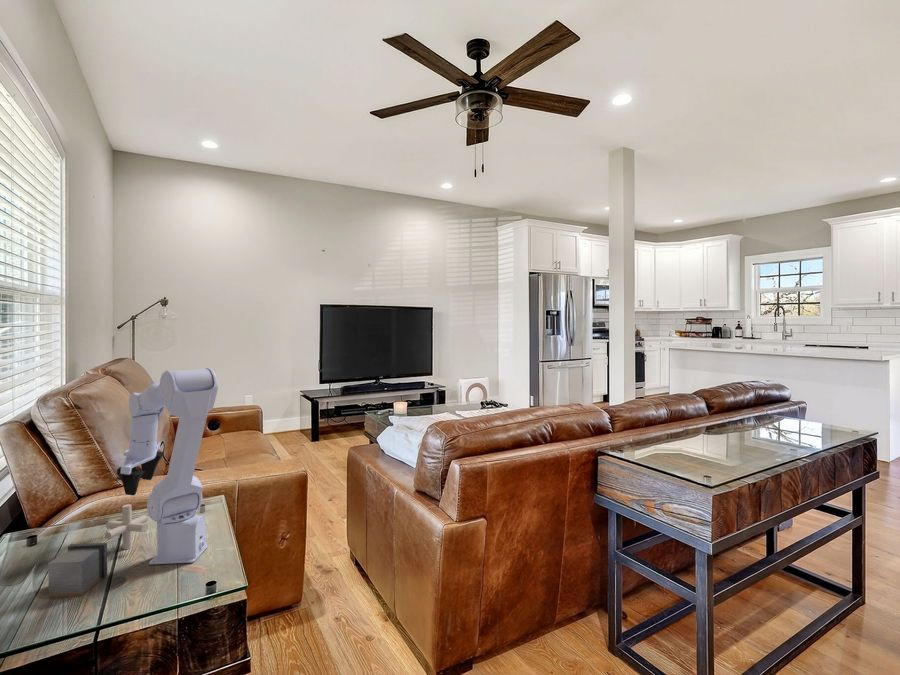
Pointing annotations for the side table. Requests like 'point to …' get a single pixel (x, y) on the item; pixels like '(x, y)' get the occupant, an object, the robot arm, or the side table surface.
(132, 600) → the side table surface
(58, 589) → the duct stub
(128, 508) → the pipe connector
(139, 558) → the side table surface
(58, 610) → the side table surface
